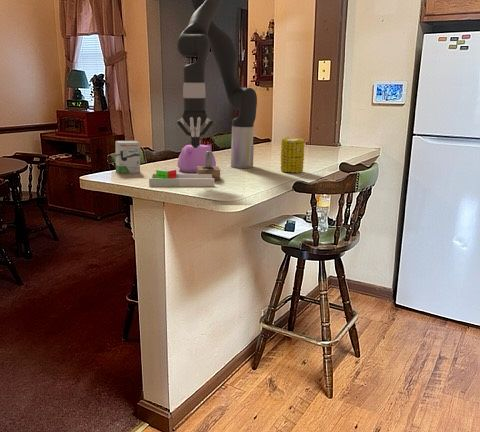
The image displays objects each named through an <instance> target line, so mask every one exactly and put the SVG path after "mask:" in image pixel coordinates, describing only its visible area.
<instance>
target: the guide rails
mask: <svg viewBox="0 0 480 432" xmlns="http://www.w3.org/2000/svg"><path fill="white" fill-rule="evenodd" d="M177 174H178V178H179V186H178V187H215V181H214V178H212V174H197V173H177Z"/></svg>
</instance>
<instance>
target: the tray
mask: <svg viewBox="0 0 480 432" xmlns="http://www.w3.org/2000/svg"><path fill="white" fill-rule="evenodd" d="M178 174H179V173H176V178H156V173H149V177H148V187H180V186H179V178H178Z"/></svg>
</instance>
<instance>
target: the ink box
mask: <svg viewBox="0 0 480 432" xmlns="http://www.w3.org/2000/svg"><path fill="white" fill-rule="evenodd" d="M140 150H141V143H140V142H139V141H137V140H115V172H116V173H117V174H131V173H132V174H133V173H134V174H135V173H141V151H140Z"/></svg>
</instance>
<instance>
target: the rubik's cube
mask: <svg viewBox="0 0 480 432" xmlns="http://www.w3.org/2000/svg"><path fill="white" fill-rule="evenodd" d="M155 174H156V178H176V174H177V169H176V168H175V169H173V168H165V167H164V168H159V169H156V171H155Z"/></svg>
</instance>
